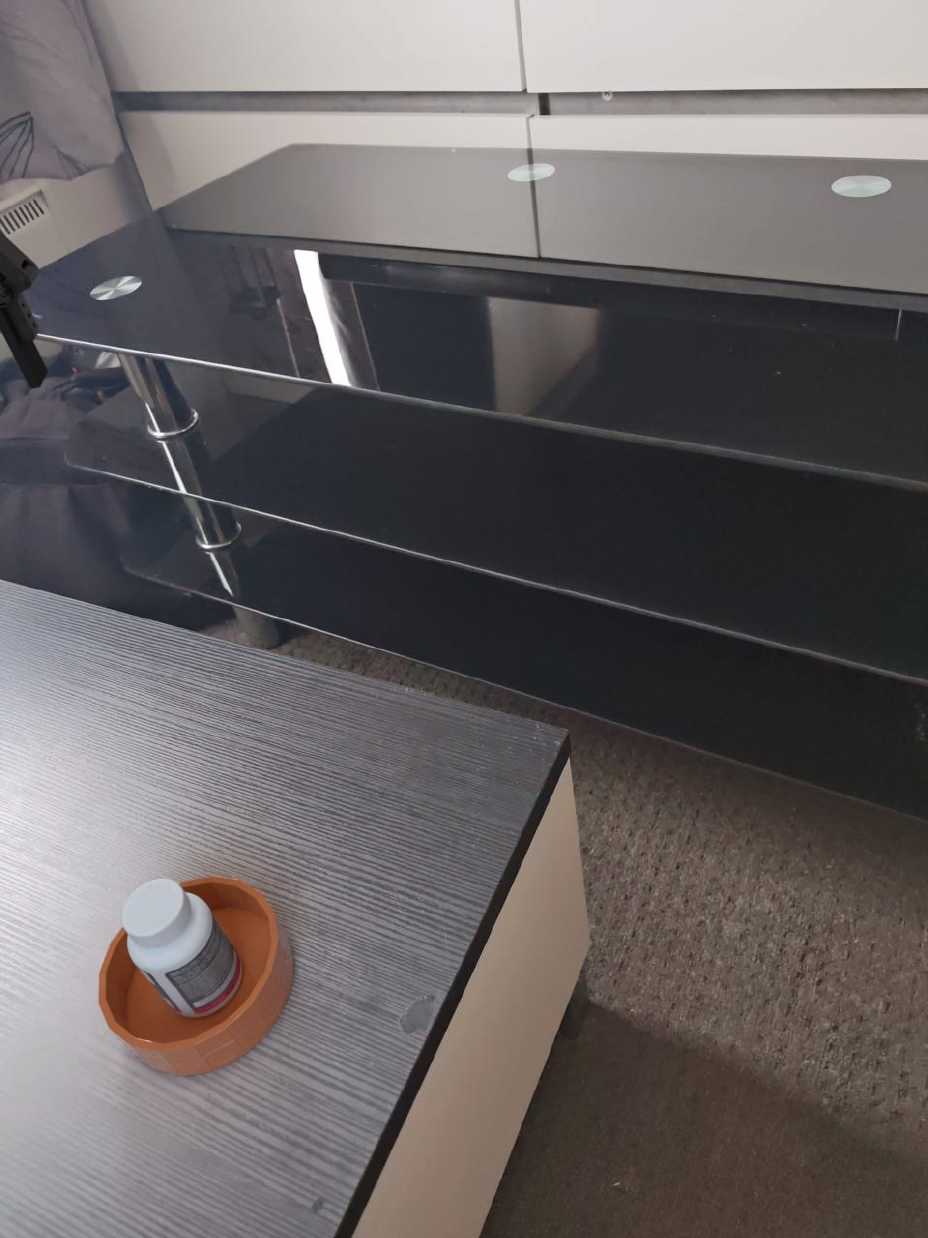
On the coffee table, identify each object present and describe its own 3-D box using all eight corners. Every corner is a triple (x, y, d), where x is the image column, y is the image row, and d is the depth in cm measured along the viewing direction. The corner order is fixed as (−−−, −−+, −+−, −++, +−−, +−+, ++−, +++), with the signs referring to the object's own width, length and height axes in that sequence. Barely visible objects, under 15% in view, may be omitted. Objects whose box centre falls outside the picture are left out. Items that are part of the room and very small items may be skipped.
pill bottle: (251, 942, 64) (203, 865, 58) (236, 1018, 60) (183, 944, 54) (178, 947, 65) (122, 871, 59) (158, 1022, 61) (96, 950, 55)
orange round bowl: (86, 1039, 62) (59, 1012, 59) (192, 886, 69) (173, 856, 67) (229, 1106, 57) (207, 1081, 54) (326, 934, 65) (311, 904, 62)
